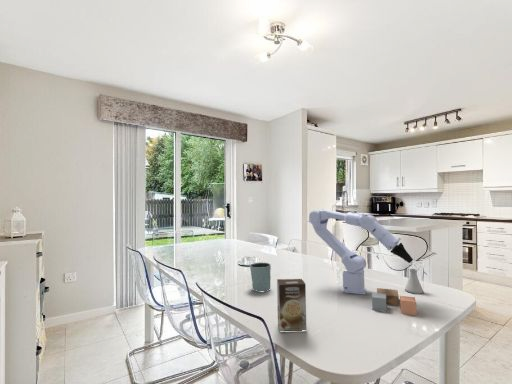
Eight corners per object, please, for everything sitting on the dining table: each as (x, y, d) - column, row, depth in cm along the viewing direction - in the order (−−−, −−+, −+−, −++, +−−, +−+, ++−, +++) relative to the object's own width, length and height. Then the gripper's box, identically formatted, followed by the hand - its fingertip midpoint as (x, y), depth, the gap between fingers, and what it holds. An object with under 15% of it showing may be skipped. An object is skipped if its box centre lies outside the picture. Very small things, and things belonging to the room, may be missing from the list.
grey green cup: (269, 293, 131) (268, 267, 131) (248, 292, 133) (247, 267, 133) (272, 286, 141) (272, 262, 141) (253, 285, 143) (252, 262, 143)
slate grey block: (372, 309, 109) (371, 297, 109) (372, 305, 114) (372, 292, 114) (386, 311, 107) (386, 298, 107) (386, 306, 112) (385, 294, 112)
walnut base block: (377, 304, 115) (376, 294, 115) (377, 297, 122) (376, 288, 123) (399, 306, 112) (398, 296, 112) (397, 299, 119) (397, 289, 119)
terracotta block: (401, 313, 105) (400, 300, 105) (400, 308, 109) (400, 295, 110) (416, 315, 103) (416, 301, 103) (415, 310, 107) (414, 297, 107)
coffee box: (279, 333, 93) (278, 284, 93) (277, 324, 99) (276, 279, 99) (307, 332, 93) (305, 283, 93) (303, 323, 99) (301, 278, 100)
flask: (414, 295, 123) (413, 272, 123) (401, 290, 130) (400, 268, 130) (427, 293, 125) (426, 270, 125) (414, 288, 132) (413, 266, 132)
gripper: (389, 227, 114) (418, 253, 107) (392, 232, 126) (418, 255, 119) (376, 239, 115) (404, 265, 108) (381, 243, 127) (406, 266, 120)
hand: (410, 261), depth 114 cm, fingers open, 7 cm apart
